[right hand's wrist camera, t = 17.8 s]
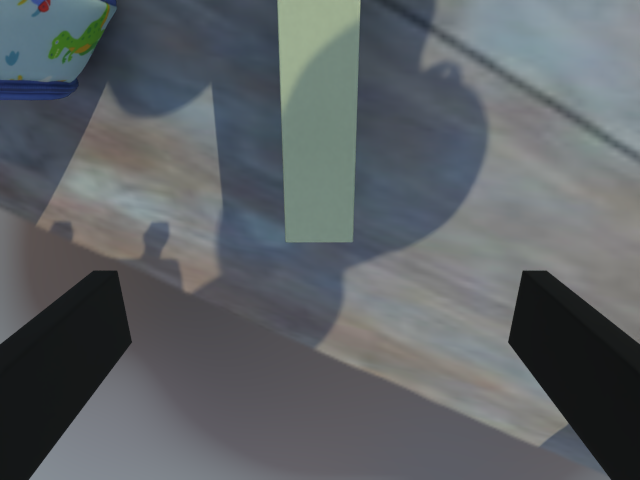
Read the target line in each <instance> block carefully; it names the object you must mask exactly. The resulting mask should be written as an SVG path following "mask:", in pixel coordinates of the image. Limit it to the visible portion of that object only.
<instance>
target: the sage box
mask: <svg viewBox="0 0 640 480" xmlns="http://www.w3.org/2000/svg"><path fill="white" fill-rule="evenodd" d="M277 12H278V41H279V69H280V98H281V126H282V155H283V183H284V212H285V241H286V242H353V223H354V191H355V159H356V127H357V95H358V63H359V31H360V0H277Z"/></svg>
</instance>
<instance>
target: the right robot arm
mask: <svg viewBox="0 0 640 480" xmlns="http://www.w3.org/2000/svg"><path fill="white" fill-rule="evenodd" d="M131 343H132V341H131V336H130V331H129V326H128V321H127V316H126V311H125V306H124V302H123V297H122V292H121V287H120V282H119V277H118V272H117V271H93V272H91V273H90V274H89V275H88V276H86V277H85V278H84V279H82V280H81V281H80V282H79V283H77V284H76V285H75V286H74V287H72V288H71V289H70V290H68V291H67V292H66V293H65V294H63V295H62V296H61V297H60V298H58V299H57V300H56V301H55V302H53V303H52V304H51V305H50V306H48V307H47V308H46V309H45V310H43V311H42V312H41V313H39V314H38V315H37V316H36V317H34V318H33V319H32V320H31V321H29V322H28V323H27V324H25V325H24V326H23V327H22V328H20V329H19V330H18V331H17V332H15V333H14V334H13V335H12V336H10V337H9V338H8V339H6V340H5V341H4V342H3V343H1V344H0V480H29V479H30V477H31V476H32V475H33V473H34V472H35V471H36V469H37V468H38V467H39V465H40V464H41V463H42V461H43V460H44V459H45V457H46V456H47V455H48V453H49V452H50V451H51V449H52V448H53V447H54V445H55V444H56V443H57V441H58V440H59V439H60V437H61V436H62V435H63V433H64V432H65V431H66V429H67V428H68V427H69V425H70V424H71V423H72V421H73V420H74V419H75V417H76V416H77V415H78V413H79V412H80V411H81V409H82V408H83V407H84V405H85V404H86V403H87V401H88V400H89V399H90V397H91V396H92V395H93V393H94V392H95V391H96V389H97V388H98V387H99V385H100V384H101V383H102V381H103V380H104V379H105V377H106V376H107V375H108V373H109V372H110V371H111V369H112V368H113V367H114V365H115V364H116V363H117V361H118V360H119V359H120V357H121V356H122V355H123V353H124V352H125V351H126V349H127V348H128V347H129V345H130V344H131ZM508 343H509V344H510V345H511V347H512V348H513V349H514V351H515V352H516V353H517V355H518V356H519V357H520V359H521V360H522V361H523V363H524V364H525V365H526V367H527V368H528V369H529V371H530V372H531V373H532V375H533V376H534V377H535V379H536V380H537V381H538V383H539V384H540V385H541V387H542V388H543V389H544V391H545V392H546V393H547V395H548V396H549V397H550V399H551V400H552V401H553V403H554V404H555V405H556V407H557V408H558V409H559V411H560V412H561V413H562V415H563V416H564V417H565V419H566V420H567V421H568V423H569V424H570V425H571V427H572V428H573V429H574V431H575V432H576V433H577V435H578V436H579V437H580V439H581V440H582V441H583V443H584V444H585V445H586V447H587V448H588V449H589V451H590V452H591V453H592V455H593V456H594V457H595V459H596V460H597V461H598V463H599V464H600V465H601V467H602V468H603V469H604V471H605V472H606V473H607V475H608V476H609V477H610V479H611V480H640V344H639V343H637V342H636V341H635V340H634V339H632V338H631V337H630V336H628V335H627V334H626V333H625V332H623V331H622V330H621V329H620V328H618V327H617V326H616V325H615V324H613V323H612V322H611V321H609V320H608V319H607V318H606V317H604V316H603V315H602V314H601V313H599V312H598V311H597V310H596V309H594V308H593V307H592V306H591V305H589V304H588V303H587V302H585V301H584V300H583V299H582V298H580V297H579V296H578V295H577V294H575V293H574V292H573V291H572V290H570V289H569V288H568V287H566V286H565V285H564V284H563V283H561V282H560V281H559V280H558V279H556V278H555V277H554V276H553V275H551V274H550V273H549V272H547V271H523V272H522V277H521V282H520V287H519V292H518V297H517V301H516V306H515V311H514V316H513V321H512V326H511V331H510V336H509V341H508Z"/></svg>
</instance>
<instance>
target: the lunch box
mask: <svg viewBox="0 0 640 480" xmlns="http://www.w3.org/2000/svg"><path fill="white" fill-rule="evenodd" d="M116 10H117V6H116V0H0V100H54V99H60V98H64V97H67V96H69V95H70V94H71V93H72V92H74V91H75V90H76V89H77V87H78V80H77V79H76V77H77V76H78V75H79V74H80V73H81V72H82V70H83V69H84V67H85V66H86V64H87V62H88V60H89V59H90V57H91V55H92V53H93V51H94V49H95V47H96V45H97V43H98V41H99V40H100V38H101V36H102V34H103V32H104V30H105V28H106V26H107V24H108V23H109V21H110V20H111V18H112V16H113V15H114V13H115V12H116Z"/></svg>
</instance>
